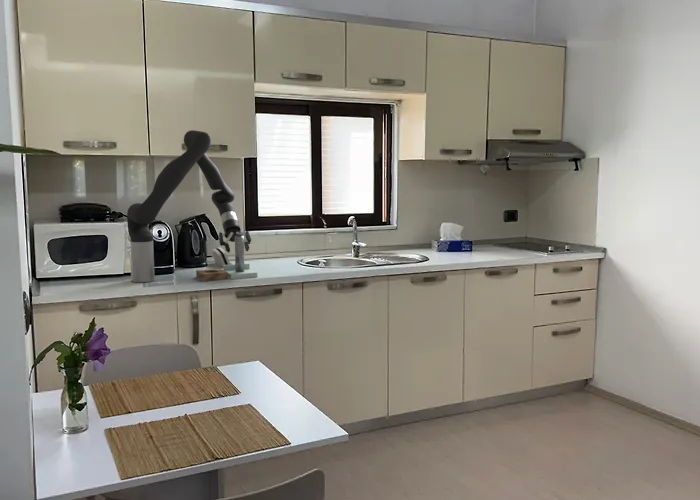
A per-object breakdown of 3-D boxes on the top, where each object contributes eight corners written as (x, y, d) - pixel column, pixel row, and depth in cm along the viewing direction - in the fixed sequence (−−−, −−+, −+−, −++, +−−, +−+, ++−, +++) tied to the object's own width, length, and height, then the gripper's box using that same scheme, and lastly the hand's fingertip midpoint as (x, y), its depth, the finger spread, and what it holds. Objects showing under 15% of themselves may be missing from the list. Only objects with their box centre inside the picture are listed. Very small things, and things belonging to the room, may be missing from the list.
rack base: (231, 279, 277) (231, 269, 276) (223, 274, 287) (223, 265, 287) (257, 276, 282) (257, 267, 282) (248, 272, 293) (248, 263, 292)
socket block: (202, 281, 271) (202, 274, 271) (196, 277, 281) (196, 270, 281) (227, 279, 277) (227, 272, 276) (220, 275, 286) (220, 268, 286)
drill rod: (236, 272, 282) (236, 234, 280) (234, 271, 286) (233, 233, 283) (245, 271, 284) (244, 233, 281) (242, 270, 287) (242, 232, 285)
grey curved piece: (234, 267, 308) (226, 248, 306) (225, 271, 307) (217, 252, 304) (225, 262, 323) (218, 244, 320) (216, 265, 321) (209, 247, 319)
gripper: (216, 218, 288) (224, 246, 279) (246, 217, 294) (255, 245, 286) (213, 229, 293) (221, 257, 285) (243, 227, 300) (251, 255, 291)
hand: (238, 251), depth 285 cm, fingers open, 8 cm apart
